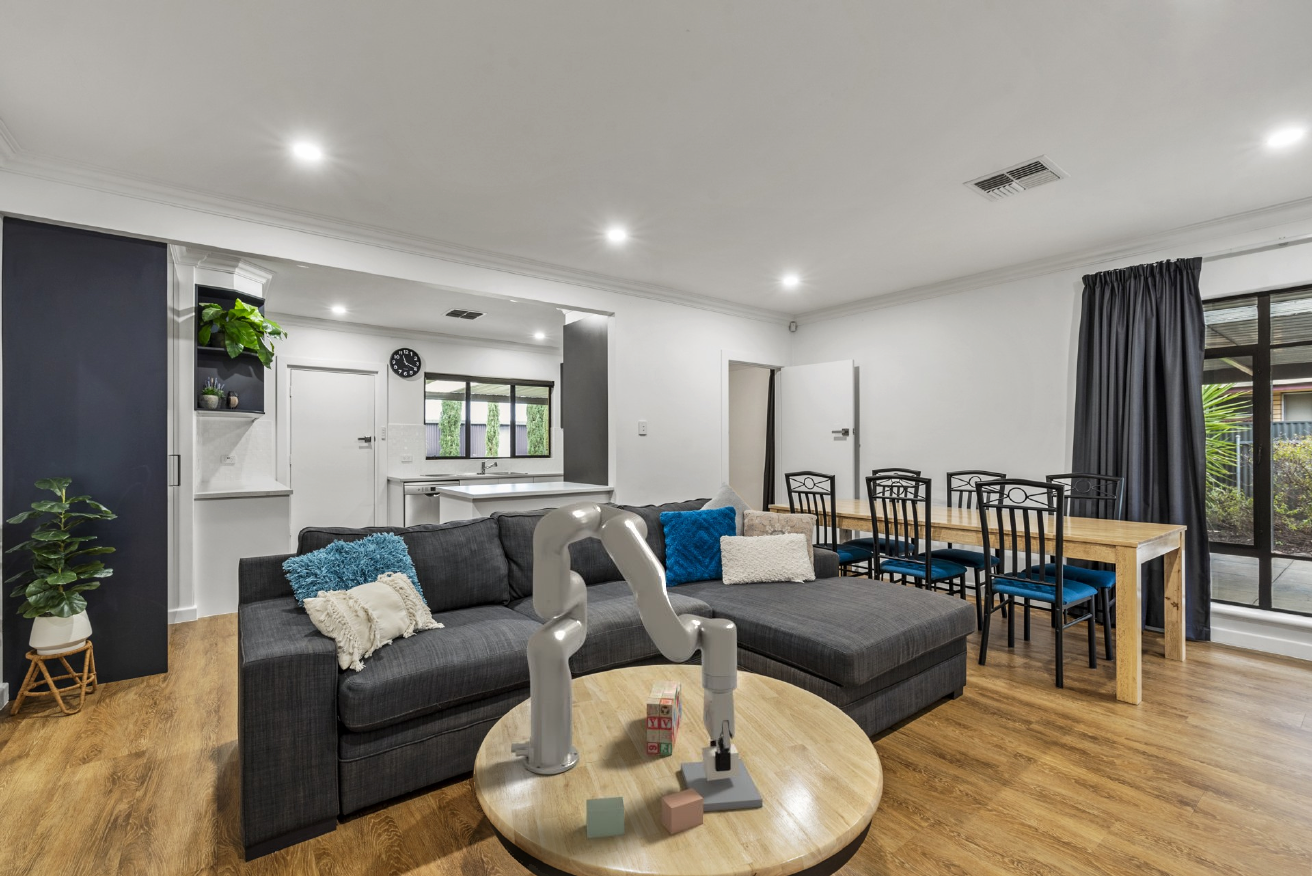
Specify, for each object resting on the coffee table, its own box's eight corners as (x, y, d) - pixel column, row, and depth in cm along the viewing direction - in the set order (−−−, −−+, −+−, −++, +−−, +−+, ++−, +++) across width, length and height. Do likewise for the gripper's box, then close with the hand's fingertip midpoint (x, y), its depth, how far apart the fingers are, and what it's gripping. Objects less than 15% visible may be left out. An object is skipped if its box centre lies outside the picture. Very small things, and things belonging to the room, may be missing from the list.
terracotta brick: (671, 834, 117) (671, 808, 117) (661, 823, 121) (661, 797, 121) (703, 823, 120) (703, 798, 120) (692, 812, 124) (692, 787, 124)
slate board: (694, 812, 124) (694, 804, 124) (680, 769, 140) (680, 763, 140) (762, 806, 126) (762, 799, 126) (741, 765, 142) (741, 758, 142)
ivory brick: (707, 780, 130) (706, 757, 130) (703, 770, 134) (702, 747, 134) (739, 776, 131) (738, 752, 131) (735, 766, 135) (733, 743, 135)
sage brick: (587, 838, 116) (587, 811, 116) (586, 825, 120) (586, 799, 120) (624, 835, 117) (624, 808, 117) (622, 822, 121) (622, 796, 121)
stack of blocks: (658, 714, 168) (658, 669, 168) (681, 715, 167) (681, 670, 167) (646, 754, 147) (646, 702, 147) (672, 756, 146) (672, 704, 146)
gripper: (694, 665, 140) (695, 746, 140) (710, 696, 124) (711, 787, 124) (726, 663, 141) (727, 744, 141) (747, 693, 125) (748, 784, 125)
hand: (720, 763), depth 133 cm, fingers closed on ivory brick, 4 cm apart
